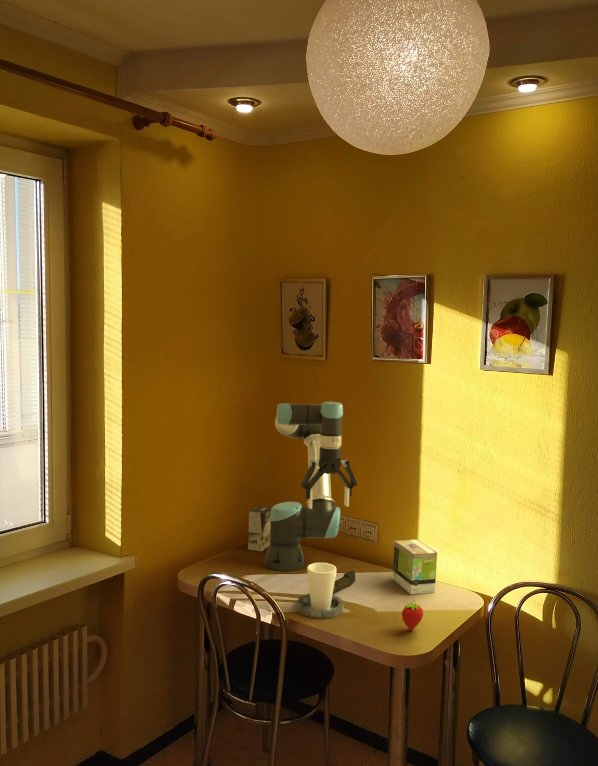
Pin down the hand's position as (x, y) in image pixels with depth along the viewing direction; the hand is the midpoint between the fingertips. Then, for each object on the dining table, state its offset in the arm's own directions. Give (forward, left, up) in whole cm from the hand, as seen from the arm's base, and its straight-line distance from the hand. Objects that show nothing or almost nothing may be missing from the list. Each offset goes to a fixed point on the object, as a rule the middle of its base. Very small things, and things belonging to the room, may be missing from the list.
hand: (328, 506), depth 244 cm
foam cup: (+17, -8, -28) cm, 34 cm away
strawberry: (+39, +14, -29) cm, 51 cm away
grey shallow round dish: (+17, -8, -29) cm, 34 cm away
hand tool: (+3, +4, -29) cm, 30 cm away
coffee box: (-44, -13, -29) cm, 54 cm away
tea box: (+7, +31, -29) cm, 43 cm away
